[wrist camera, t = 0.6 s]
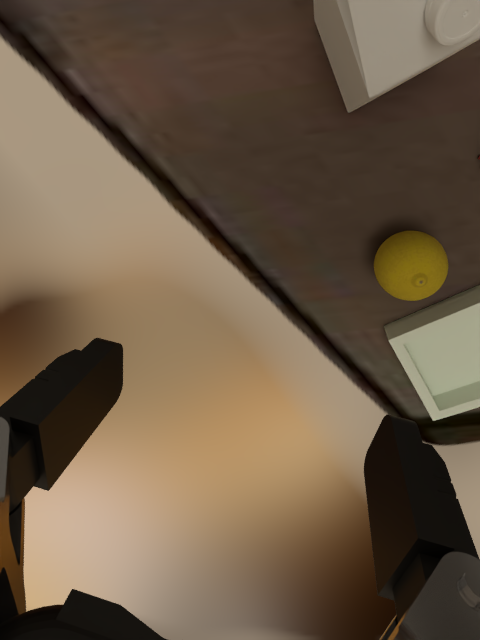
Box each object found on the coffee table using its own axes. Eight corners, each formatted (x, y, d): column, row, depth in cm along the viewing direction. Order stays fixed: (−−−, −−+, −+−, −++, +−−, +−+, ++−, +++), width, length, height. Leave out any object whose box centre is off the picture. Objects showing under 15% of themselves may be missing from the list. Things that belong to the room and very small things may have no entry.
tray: (499, 275, 34) (515, 288, 31) (537, 366, 37) (554, 383, 34) (383, 325, 38) (388, 340, 35) (426, 402, 41) (433, 421, 38)
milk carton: (313, 19, 28) (306, -147, 11) (410, -47, 25) (587, -389, 9) (347, 114, 30) (383, 92, 14) (439, 62, 28) (623, -44, 11)
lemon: (402, 289, 36) (422, 328, 29) (356, 258, 35) (365, 289, 28) (446, 243, 33) (480, 273, 26) (397, 209, 33) (419, 230, 26)
